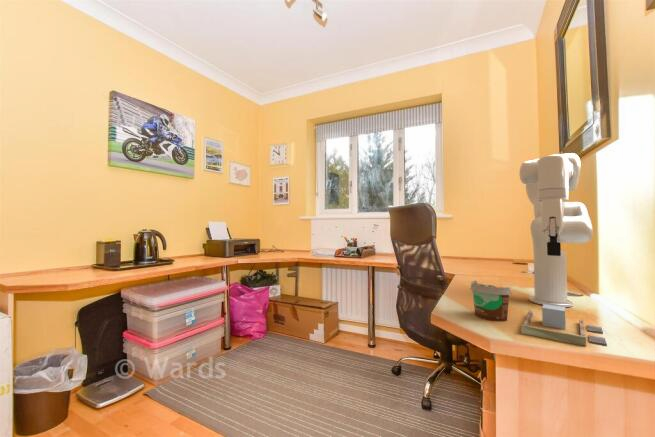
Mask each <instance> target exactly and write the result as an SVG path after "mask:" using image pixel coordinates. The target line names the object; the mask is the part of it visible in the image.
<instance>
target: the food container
mask: <svg viewBox="0 0 655 437" xmlns="http://www.w3.org/2000/svg"><path fill="white" fill-rule="evenodd" d="M469 289H470V290H471V291H472V295H473V306H474V307H473V308H474V315H475V316H476V317H478V318H480V319H482V320H483V319H484V320H486V321H493V322H507V321H508V313H509V304H510V303H509V300H510V295H511V296H512V291H511V288H510V286H509V287H508V286H507V287H500V286H499V287H497V286H495V285H490V284H489V285H488V284H481V283H478V282H477V280H472V282H471V284H470V288H469Z"/></svg>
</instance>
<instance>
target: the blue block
mask: <svg viewBox="0 0 655 437" xmlns="http://www.w3.org/2000/svg"><path fill="white" fill-rule="evenodd" d="M541 311H542V312H541V314H542V315H541V317H542V326H545V327H551V328H555V329H560V330H566V327H567V326H566V322H567V321H566V316H567V315H566V307H560V306H552V305H545V304H543V305H542V308H541Z"/></svg>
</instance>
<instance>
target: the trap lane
mask: <svg viewBox="0 0 655 437" xmlns="http://www.w3.org/2000/svg"><path fill="white" fill-rule="evenodd" d="M533 314H534V311H533V310H528V312H527V314H526V316H525V319H524V321H523V323H522V324H520V333H521V334H524V335H528V336H533V337H538V338H543V339H547V340H548V339H549V340H554V341H558V342H563V343H568V344H574V345H578V346H583V347H587V337H588V341H589V344H595V345H601V346H608V345H607V344H608V343H607V340H606V337H601V336H596V335H591V334H588V336H586V331H585V324H584V318H581V317H579V318H578V319H579V320H578V324H579V332H580V333H579V334H580V335H579V334H575V333H574V334H573V333H569V332H563V331H558V330H552V329H547V328H541V327H536V326H531V325H530V323H531V321H532V318H533ZM586 330H587V332H589V333H596V334H601V335H604V332H603V329H602V326H595V325H590V324H586Z"/></svg>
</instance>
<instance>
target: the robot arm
mask: <svg viewBox="0 0 655 437" xmlns="http://www.w3.org/2000/svg"><path fill="white" fill-rule="evenodd" d="M581 166H582V165H581V159H580V157H579V155H577V153H573V152H571V153H561V154H560V153H559V154H558V153H557V154H548V155H544V156H541V157H539V158H536V159H532V160H527V161H524V162H522V163H521V165H520V168H519V172H518V174H519V179H520V182H521V183H522V184H524V185H525V191H526V194H527V195H526V196H527V198H528V200H529V202H531V204H532V205H533V214H534V219H533V220H532V221H531V223H530V227H529V228H530V235H531V239H532V245H533V246H532V247H533V248H532V249H533V284H534V286H533V289H534V295H531V296H529V301H530V302H532V303H534V304H538V305H542V306H543V304H545V305H552V306H560V307H565V308H571V307H573V306H574V302H573V301H572V300H568V280H567V279H568V276H567V275H568V274H567V273H568V272H567V268H568V267H567V266H568V265H567V263H568V262H567V256H566V253H565V251H564V250H563V249H562V248H561V247H562V244H585V243H588V242H590V241H591V240H592V238H593V235H594V227H593V224H592V220H591V218H590V215H589V212H588V208H587V206H586V205H585V204H584V203H582V202H579V201H569V200H570V194H569V193H570V192H573V191H575V190H576V189H577V187H578V185H579V179H580V174H581Z"/></svg>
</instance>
